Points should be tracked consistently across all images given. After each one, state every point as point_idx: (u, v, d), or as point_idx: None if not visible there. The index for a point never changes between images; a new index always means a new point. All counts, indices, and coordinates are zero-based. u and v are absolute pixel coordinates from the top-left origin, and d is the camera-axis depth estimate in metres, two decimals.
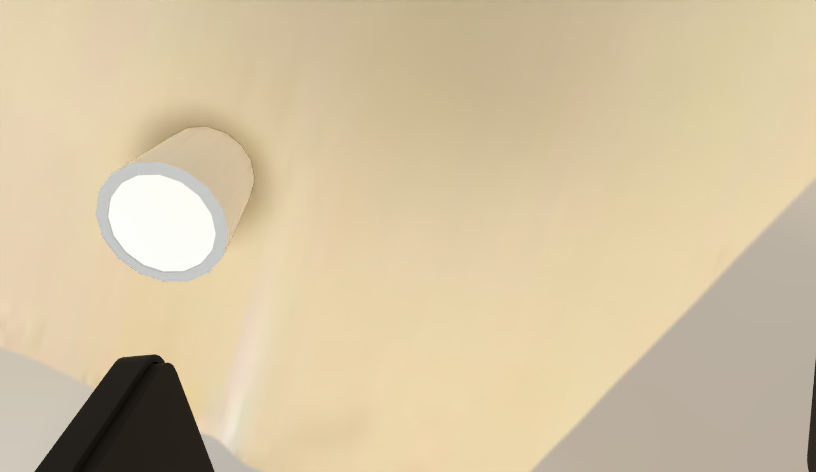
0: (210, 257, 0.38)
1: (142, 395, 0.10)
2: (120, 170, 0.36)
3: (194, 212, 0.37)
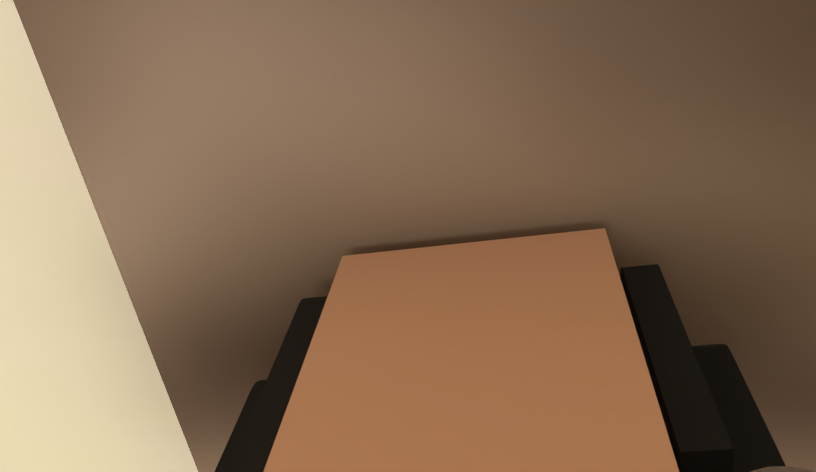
0: None
1: None
2: None
3: None
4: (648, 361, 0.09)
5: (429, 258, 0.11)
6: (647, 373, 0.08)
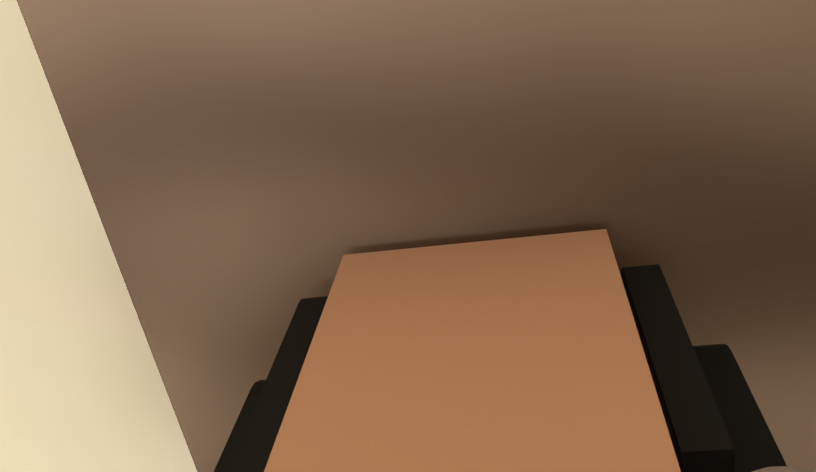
0: None
1: None
2: None
3: None
4: (649, 361, 0.09)
5: (430, 257, 0.11)
6: (649, 374, 0.08)
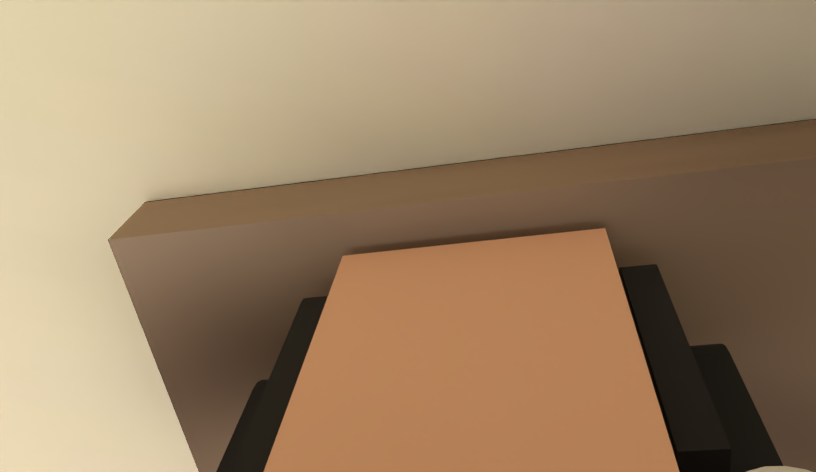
0: None
1: None
2: None
3: None
4: (646, 361, 0.09)
5: (429, 258, 0.11)
6: (647, 372, 0.08)
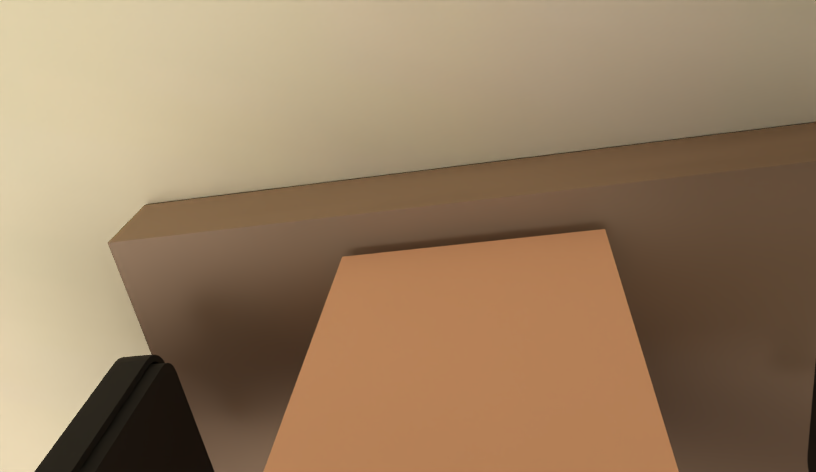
0: None
1: (142, 395, 0.10)
2: None
3: None
4: None
5: (429, 259, 0.11)
6: (647, 374, 0.08)
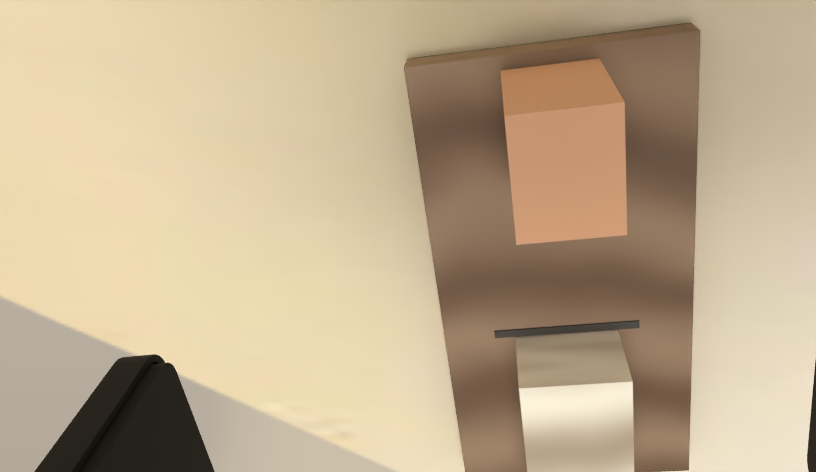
0: None
1: (142, 395, 0.10)
2: None
3: None
4: None
5: (535, 68, 0.30)
6: (612, 81, 0.27)
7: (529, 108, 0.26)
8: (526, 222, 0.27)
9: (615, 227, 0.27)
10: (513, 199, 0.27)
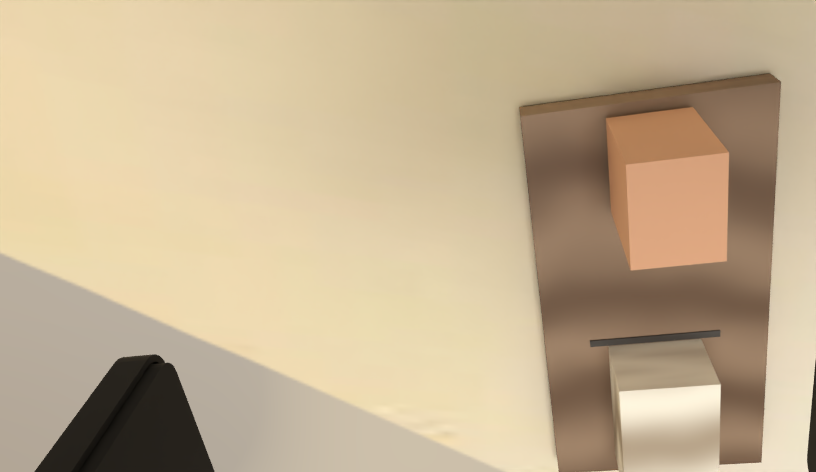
0: None
1: (142, 395, 0.10)
2: None
3: None
4: None
5: (637, 116, 0.35)
6: (711, 131, 0.32)
7: (646, 157, 0.31)
8: (640, 251, 0.32)
9: (716, 255, 0.32)
10: (630, 232, 0.32)
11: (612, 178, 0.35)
